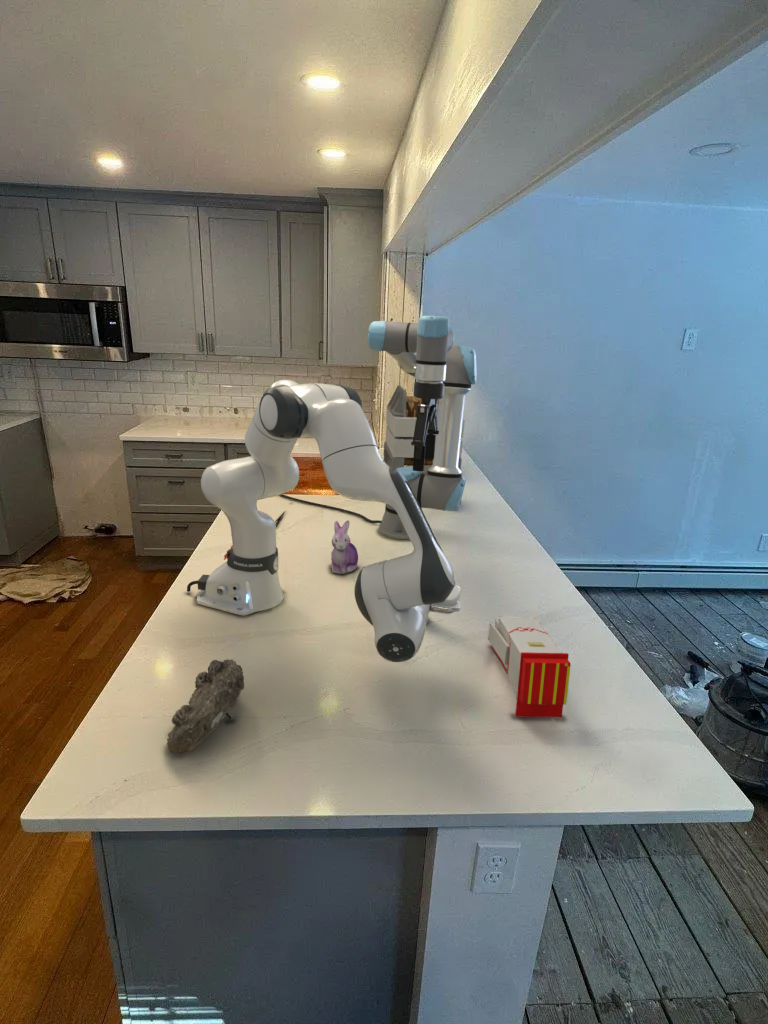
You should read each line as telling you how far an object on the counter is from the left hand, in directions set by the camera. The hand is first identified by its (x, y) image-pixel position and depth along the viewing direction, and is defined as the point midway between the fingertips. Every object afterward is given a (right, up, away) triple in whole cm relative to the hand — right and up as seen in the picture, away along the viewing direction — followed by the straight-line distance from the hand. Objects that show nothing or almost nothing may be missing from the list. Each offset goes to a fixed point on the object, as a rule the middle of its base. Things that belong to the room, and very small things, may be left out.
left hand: (417, 576), depth 128 cm
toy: (+23, -21, -4) cm, 31 cm away
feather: (-45, +13, +84) cm, 97 cm away
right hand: (+3, +27, +20) cm, 33 cm away
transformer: (+10, +33, +147) cm, 151 cm away
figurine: (-20, -2, +43) cm, 48 cm away
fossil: (-40, -25, -20) cm, 51 cm away
